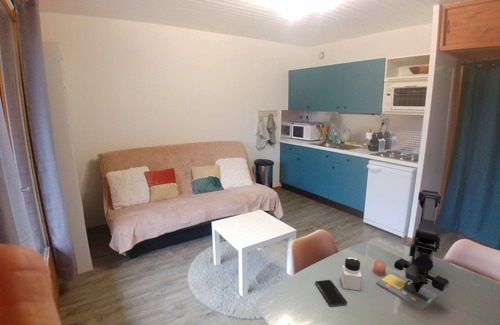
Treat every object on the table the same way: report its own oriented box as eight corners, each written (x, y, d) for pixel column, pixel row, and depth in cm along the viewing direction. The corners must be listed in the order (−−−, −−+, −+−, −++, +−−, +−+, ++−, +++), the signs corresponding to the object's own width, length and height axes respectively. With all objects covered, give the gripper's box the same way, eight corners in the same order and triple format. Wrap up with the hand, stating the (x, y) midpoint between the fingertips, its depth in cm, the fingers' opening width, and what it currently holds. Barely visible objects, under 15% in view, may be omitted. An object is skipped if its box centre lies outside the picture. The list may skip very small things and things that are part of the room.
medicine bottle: (360, 291, 114) (363, 265, 112) (342, 288, 116) (345, 263, 113) (357, 280, 121) (359, 256, 119) (340, 278, 123) (343, 254, 120)
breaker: (408, 286, 116) (409, 278, 115) (415, 290, 114) (416, 282, 113) (403, 289, 114) (404, 281, 113) (411, 293, 112) (412, 285, 111)
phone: (330, 305, 105) (314, 281, 119) (329, 308, 105) (314, 283, 119) (348, 303, 106) (330, 279, 121) (348, 305, 106) (330, 281, 121)
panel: (392, 273, 127) (393, 270, 126) (438, 297, 111) (438, 293, 111) (375, 283, 119) (376, 280, 119) (421, 311, 104) (422, 307, 103)
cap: (376, 268, 131) (378, 258, 130) (387, 273, 127) (388, 264, 125) (370, 271, 128) (371, 262, 127) (381, 277, 124) (382, 268, 123)
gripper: (389, 253, 111) (384, 286, 114) (440, 276, 96) (433, 314, 99) (403, 245, 117) (398, 277, 121) (453, 266, 102) (446, 302, 105)
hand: (417, 291), depth 111 cm, fingers closed
